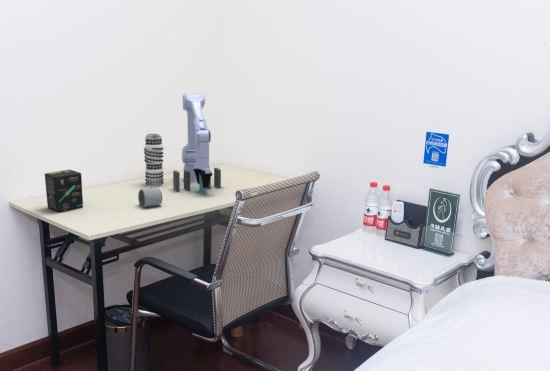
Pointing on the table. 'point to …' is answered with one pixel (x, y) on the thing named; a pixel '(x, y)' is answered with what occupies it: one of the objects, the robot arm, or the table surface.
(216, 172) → the black domino
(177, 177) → the black domino
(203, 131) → the robot arm
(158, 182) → the decorative candle
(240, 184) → the table surface
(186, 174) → the black domino
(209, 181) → the black domino
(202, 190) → the teal domino
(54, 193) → the tampon box
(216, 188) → the sage board
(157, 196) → the grey cylinder
